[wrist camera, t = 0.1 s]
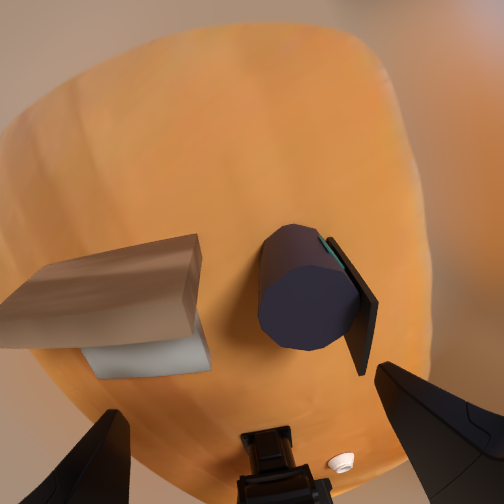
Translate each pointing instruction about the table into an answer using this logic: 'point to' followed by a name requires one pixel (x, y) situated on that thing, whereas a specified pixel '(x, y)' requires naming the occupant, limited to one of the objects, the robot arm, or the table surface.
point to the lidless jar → (342, 462)
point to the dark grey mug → (314, 294)
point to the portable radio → (324, 491)
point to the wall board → (116, 310)
